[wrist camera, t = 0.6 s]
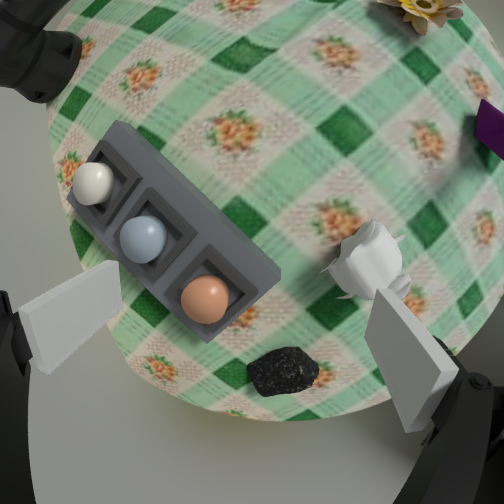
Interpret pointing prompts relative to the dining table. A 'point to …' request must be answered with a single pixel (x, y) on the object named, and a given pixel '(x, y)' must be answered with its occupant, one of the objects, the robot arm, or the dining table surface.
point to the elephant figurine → (370, 263)
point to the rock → (283, 372)
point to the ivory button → (93, 183)
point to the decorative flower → (427, 11)
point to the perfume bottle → (490, 128)
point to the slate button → (143, 238)
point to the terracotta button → (205, 299)
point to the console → (174, 230)
